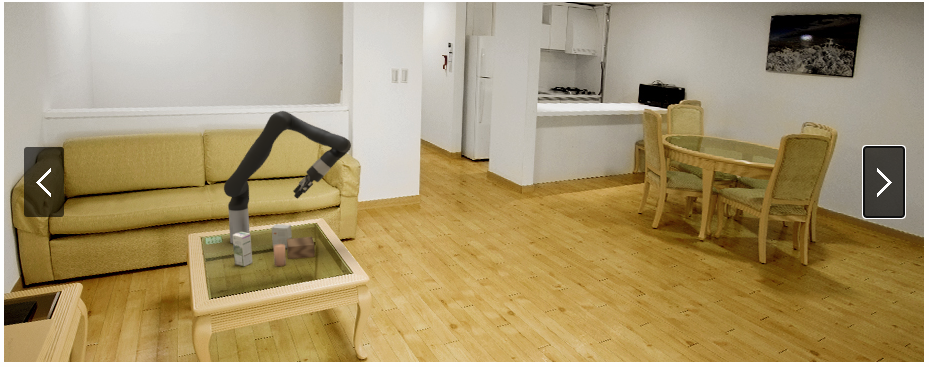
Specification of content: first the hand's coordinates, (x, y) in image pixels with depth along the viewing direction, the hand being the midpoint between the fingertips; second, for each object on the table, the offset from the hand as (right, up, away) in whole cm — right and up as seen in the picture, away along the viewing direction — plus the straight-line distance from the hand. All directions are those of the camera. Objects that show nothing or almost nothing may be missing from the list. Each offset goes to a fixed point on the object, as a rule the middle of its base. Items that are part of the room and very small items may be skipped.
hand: (295, 195), depth 291 cm
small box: (-11, -26, +15) cm, 32 cm away
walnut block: (+1, -28, +6) cm, 29 cm away
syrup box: (-21, -32, -9) cm, 39 cm away
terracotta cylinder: (-5, -32, -9) cm, 33 cm away
